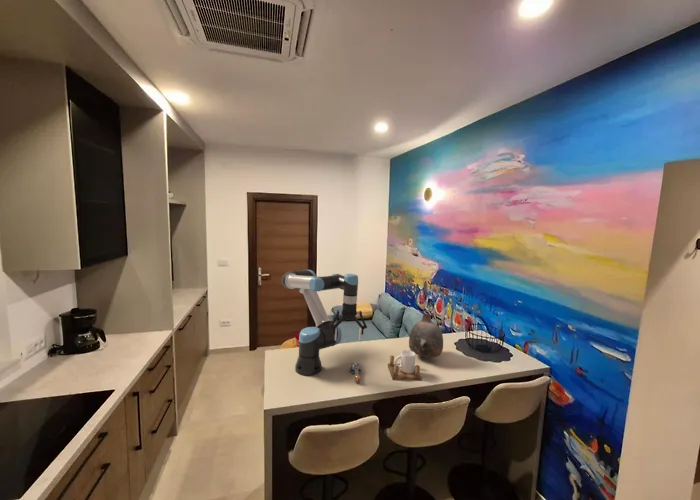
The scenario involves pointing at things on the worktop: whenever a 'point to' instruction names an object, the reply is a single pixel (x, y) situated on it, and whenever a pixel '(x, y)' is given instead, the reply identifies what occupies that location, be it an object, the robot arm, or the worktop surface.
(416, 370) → the peg rest
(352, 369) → the grey metal tool
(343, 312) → the robot arm
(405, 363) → the mug
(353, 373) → the nut washer
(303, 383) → the worktop surface
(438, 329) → the jug
